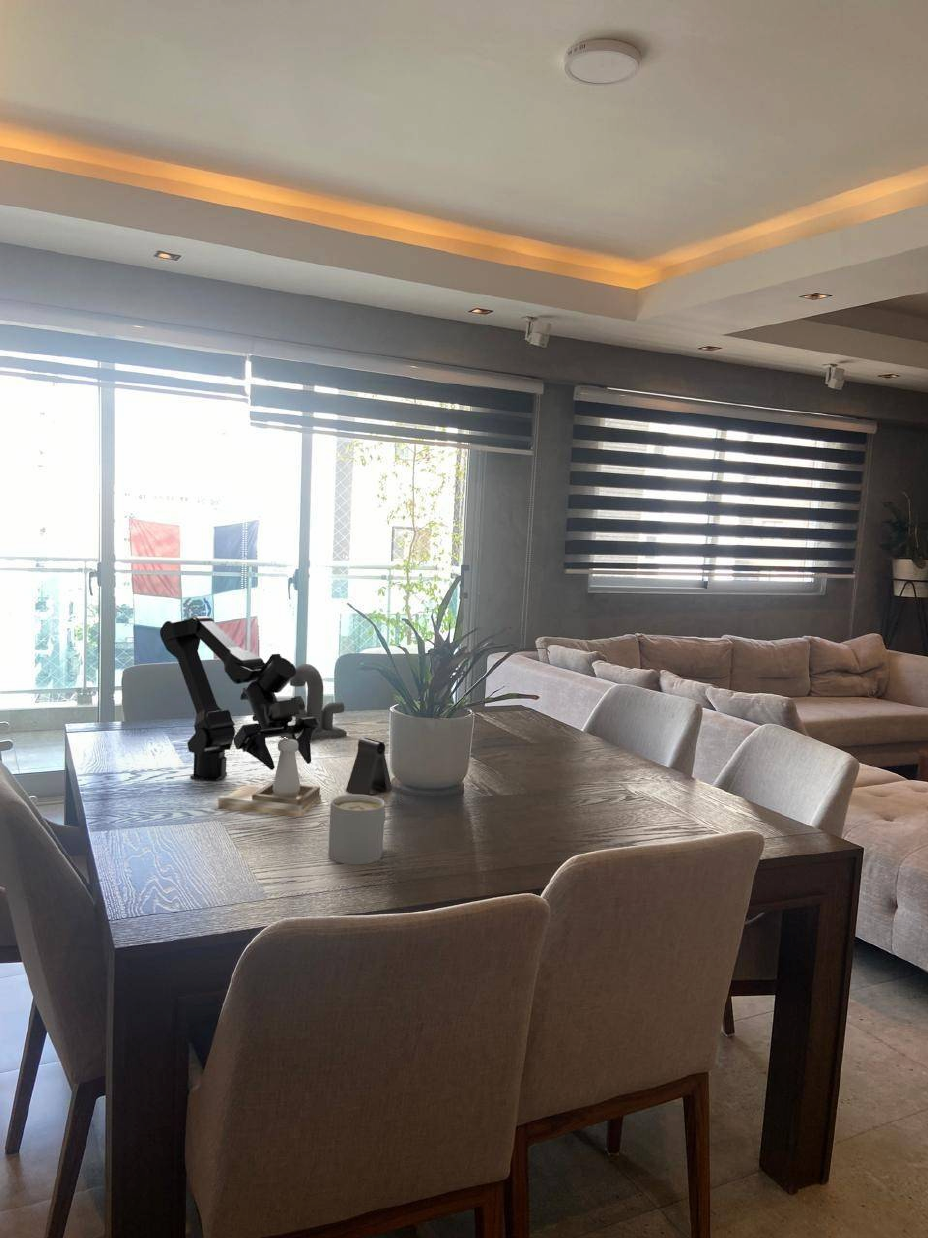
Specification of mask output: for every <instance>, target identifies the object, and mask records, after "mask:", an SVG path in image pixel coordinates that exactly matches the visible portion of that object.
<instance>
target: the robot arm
mask: <svg viewBox="0 0 928 1238" xmlns="http://www.w3.org/2000/svg"><path fill="white" fill-rule="evenodd" d="M159 636H160V639H161V641H162V643H163V645H164V647H165V649H166V650H167V652H169V653H170V654H171V655H172V656H173V657H175V658H176V660H177V662H178V665H179V667H180V671H181V673H182V676H183V679H184V681H185V684H186V687H187V691H188V693H189V696H190V698H191V701H192V704H193V707H194V710H195V713H196V717H195V720H194V725H193V727H194V732H195V733H194V734H193V735H192V736H191V738H190V739H189V740H188V741H187V743H186V744H187V748H188V752H190V753H193V774H191V775H190V776H189V778H190V779H197V780H207V781H214V782H215V781H218V780H220V779H221V778H223V777H225V776H227V775H228V772H227V759H228V758H227V757H226V751H227V750H228V751H230V750H231V748H232V745H233V744H234V746H235V749H236V750H242V752H244V753H245V752H246V753H247V754H250V755H251V756H252V757H254V758H255V759H256V760H258V761H260V762H261V763H262V764H263V765H264V766H265V767H266V768H268V769H270V771H273V770H274V769H275V767H276V766H275V764H274V760H273V757H272V755H271V753H270V751H269V749H268V746H267V744H266V743H267V742H266V738H267V739H269V738H274V737H280V736H284V735H291V736H292V738H293V739H294V740H296V741H297V742H298V745H299V746H298V750H297V751H298V752H299V754H300V756H301V757H302V758H303V761H305V762H306V764H307V765H310V764H311V762H312V751H311V750H312V749H311V748H312V747H311V742H312V740H311V736H312V735H313V734H314V732H315V731H316V730H317V729H318V727H319V726H320V725H319V723H318V721H317V719H316V718H315V717H306V718H300V719H299V720H298V721H297V722H296V724H295V723H294V724H292V725H289V723H291V722H292V721H293V718H294V717H292V716H294V715H296V714H300V711H302V710H304V709H305V708H306V704H305V701H304V699H303V697H302V696H301V695H298V696H297V695H296V696H293V697H291V698H290V699H283V700H278V698H277V695H276V694H277V693H280V692H282V691H283V690H284V688H285V687H286V686H287V685H288V684H290V680H291V679H292V678H293V677H294V676H295V674H296V667H295V665H294V663H291V661H290V660H288V659H286V658H285V657H282V656H281V654H280V653H272V654H271V655H270V656H269V658H268V660H267V661H266V662H265V661H264V660H263V658H261V657H260V656H258V655H257V654H255V653H254V652H253V651H250V650H246V649H243V648H241V647H240V646H239V645H238V644H237V643H236V642H235V641H234V640H233V639H232V638H231V637H230V636H229V635H227V633H225V631H223V629H222V628H220V626H218V625H217V624H216V623H215V621H214V619H213V618H212V617H211V616H208V615H205V616H204V615H203V616H202V615H201V616H193V617H190V618H188V619H184V620H182V619H181V620H167V621H165V622H164V623H163V624H162V627H161V628H160V630H159ZM201 641H202V643H203V644H205V646H207V648H208V649H210V651H212V653H213V654H215V656H217V658H219V660H221V662H222V663H223V665H224V666H223V667H224V671H225V673H226V675H227V676H228V677H229V679H230V680H231V681H232V682H233V683H234V684H236V685H241V684H248V685H247V687H243V688H242V692H241V693H240V697H239V698H240V700H241V701H246V700H247V701H248V702H249V705H250V707H251V710H252V712H253V716H252V717H251V719H252V721H253V722H256V723H248V724H243V725H242V726H241V727H240V728H239V730H238V731H237V732H236V730H235V725H236V723H235V722H234V720H233V717H232V715H231V712H230V710H229V709H227V708H226V709H222V708H221V707H219V706H218V704H217V703H218V702H217V700H216V697H215V695H214V692H213V689H212V687H211V684H210V681H209V678H208V676H207V673H206V670H205V668H204V665H203V662H202V659H201V656H200V654H199V647H200V645H201ZM275 693H276V694H275ZM305 710H306V709H305Z"/></svg>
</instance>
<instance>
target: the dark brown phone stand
mask: <svg viewBox="0 0 928 1238" xmlns="http://www.w3.org/2000/svg"><path fill="white" fill-rule="evenodd" d="M385 751H386V745H385V743H384V742H381V741H378V740H376V739H372V738H367V737H364V738H363V737H361V738H360V739H359V740H358V742H357V753H356V756H355V758H354V759H355V760H354V764H353V765H352V766H353V767H352V770H351V772H350V775H349V779H348V781H347V782H348V783H347V785H346V789H345V792H347V793H349V794H351V795H354V794H355V795H369V796H374V797H375V796H378V795H382V794H385V793H389V792H392V791H393V785H392V782H391V777H390V773H389V772H390V771H389V767H388V764H387V760H386V752H385Z"/></svg>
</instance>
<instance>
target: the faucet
mask: <svg viewBox="0 0 928 1238" xmlns="http://www.w3.org/2000/svg"><path fill="white" fill-rule="evenodd" d="M295 669H296V674H295V676H294V677H293V678H292V679H291V680H290V682H289V685H290V686H291V687H295V688H296V687H304V686H307V696H306V697H307V698H306V699H307V700H306V709H304V710H302V711H300V714H296V715H294V716H292V718H295V720H294V725H295V724H296V722H297V721H298V720H299V719H300V718H306V717H315V718H316V719H317V721H318V723H319V725H320V726H319V727H318V729H317V730H316V731H315V732H314V734H313V735H312V736H311V741H316V740H315V739H319V740H322V739H321V738H327V739H330V738H329V737H335V738H342V737H347V736H348V732H347V731H346V730H345V729H342V728H340V727H337V726H335V725H334V714H335V715H336V714H342V713H344V711H345V704H344V702H343V701H335V702H334V701H333V702H329V703H327V704H326V705H325V706H323V705H324V683H323V678H322V676H321V673H320V672H319V671H318V669H317V668H316V667H315V666H313V665H312V664H310V663H309V664H307V663H302V664H300V665H298V666H297V667H295ZM283 737H286V738H288V739H293V738H292V736H291V735H284V736H281V738H283Z"/></svg>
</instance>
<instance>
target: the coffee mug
mask: <svg viewBox="0 0 928 1238" xmlns="http://www.w3.org/2000/svg"><path fill="white" fill-rule="evenodd" d="M385 804H386V803H385V801H384V799H382V798H379V797H377V796H375V795H374V796H369V795H355V794H344V795H338V796H336V797H334V798H331V801H330V808H329V809H330V810H329V813H330V814H329V830H328V850H327V851H328V853H327V855H328V857H329V858H330V859H331V860H332V861H334V862H337V863H340V864H346V865H368V864H371V863H372V862H373V863H375V861H376V862H377V860H378V861H380V860H381V859H382V857H383V847H384V832H385V831H384V829H385V827H384V826H385V821H386V805H385ZM380 858H381V859H380Z"/></svg>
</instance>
